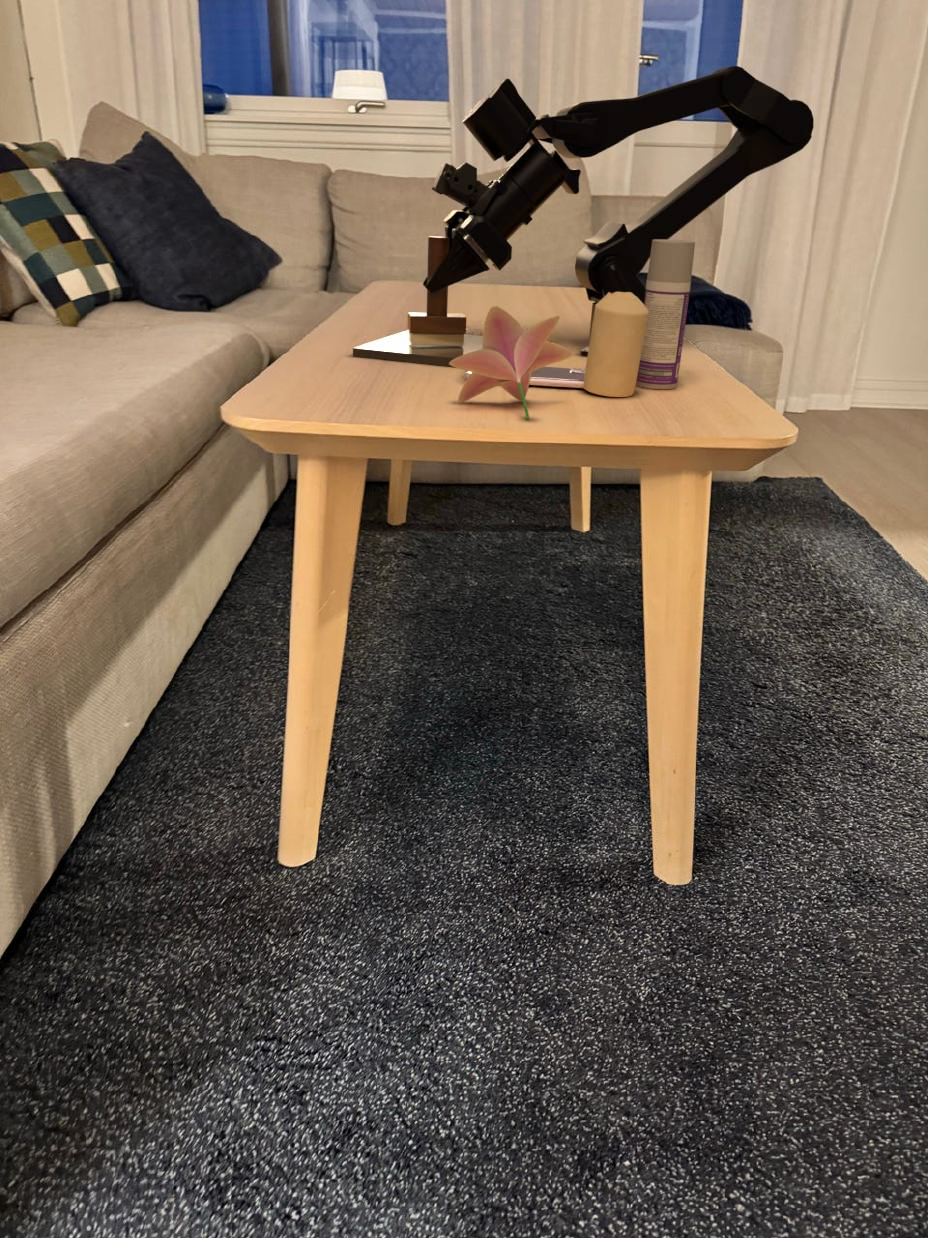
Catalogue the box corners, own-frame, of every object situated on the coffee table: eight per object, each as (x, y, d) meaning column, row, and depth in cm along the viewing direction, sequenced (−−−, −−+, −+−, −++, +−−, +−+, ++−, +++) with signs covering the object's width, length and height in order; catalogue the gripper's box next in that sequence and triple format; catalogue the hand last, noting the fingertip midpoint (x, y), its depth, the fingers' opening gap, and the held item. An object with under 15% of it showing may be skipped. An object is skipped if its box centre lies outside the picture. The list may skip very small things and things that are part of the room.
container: (650, 379, 105) (667, 238, 98) (685, 386, 102) (705, 241, 95) (626, 383, 102) (642, 239, 95) (661, 391, 99) (680, 242, 92)
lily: (587, 416, 91) (564, 323, 91) (586, 392, 80) (560, 286, 80) (472, 448, 93) (450, 357, 93) (455, 429, 81) (429, 325, 81)
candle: (633, 400, 95) (650, 300, 90) (580, 393, 95) (595, 293, 90) (634, 387, 99) (652, 292, 95) (585, 380, 100) (599, 285, 95)
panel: (410, 336, 127) (410, 328, 126) (513, 346, 122) (513, 338, 122) (352, 356, 111) (352, 347, 111) (467, 368, 107) (467, 359, 107)
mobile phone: (471, 360, 105) (601, 367, 104) (470, 368, 106) (600, 376, 104) (462, 372, 99) (601, 381, 97) (462, 381, 99) (600, 390, 98)
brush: (407, 340, 116) (408, 234, 111) (461, 341, 117) (465, 236, 112) (409, 345, 113) (411, 236, 108) (465, 346, 114) (469, 238, 109)
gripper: (462, 139, 114) (375, 232, 117) (488, 134, 97) (386, 242, 100) (519, 210, 118) (434, 298, 122) (554, 216, 102) (454, 318, 105)
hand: (426, 288), depth 112 cm, fingers closed on brush, 2 cm apart
